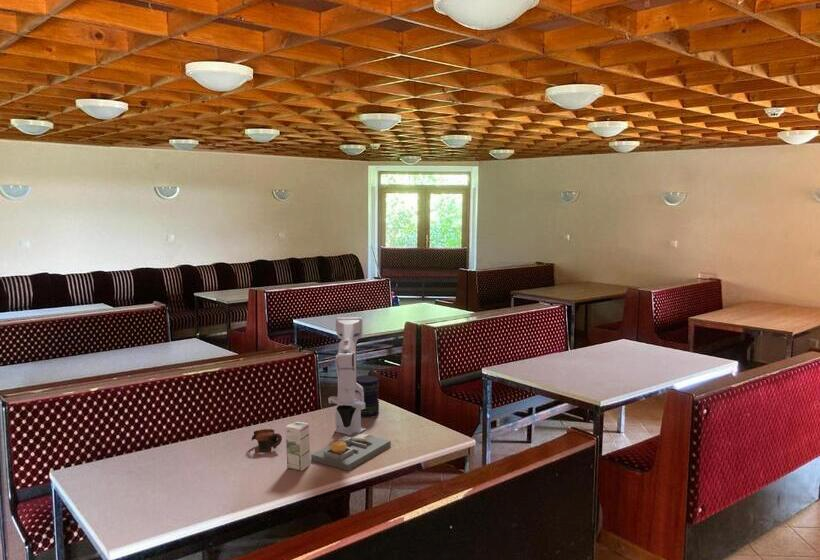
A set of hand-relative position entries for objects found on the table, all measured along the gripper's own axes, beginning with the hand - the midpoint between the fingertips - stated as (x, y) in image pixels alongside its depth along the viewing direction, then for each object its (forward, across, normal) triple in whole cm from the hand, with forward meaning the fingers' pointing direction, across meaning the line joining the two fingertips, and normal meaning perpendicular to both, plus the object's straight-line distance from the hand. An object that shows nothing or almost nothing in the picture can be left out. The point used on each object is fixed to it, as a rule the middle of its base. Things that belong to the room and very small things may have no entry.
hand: (347, 426), depth 207 cm
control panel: (+10, 0, +3) cm, 11 cm away
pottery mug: (+11, -29, -10) cm, 32 cm away
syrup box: (+11, -9, -15) cm, 20 cm away
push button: (+7, 0, -4) cm, 8 cm away
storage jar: (+10, -20, +38) cm, 44 cm away
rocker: (+7, 0, +9) cm, 11 cm away
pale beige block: (+8, -3, +3) cm, 10 cm away
